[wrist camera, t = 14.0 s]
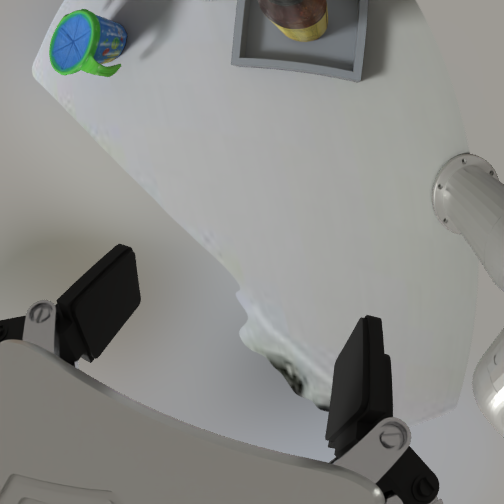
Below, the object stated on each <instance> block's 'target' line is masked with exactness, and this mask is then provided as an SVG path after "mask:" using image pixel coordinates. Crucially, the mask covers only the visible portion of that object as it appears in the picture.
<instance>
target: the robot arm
mask: <svg viewBox="0 0 504 504" xmlns="http://www.w3.org/2000/svg"><path fill="white" fill-rule="evenodd" d="M462 159H463V161H462ZM489 172H490V173H489ZM439 184H440V185H439ZM438 185H439V186H438ZM432 202H433V208H434V211H435V213H436V216H437V217H438V219H439V221H440V222H441V223H442V225H443V226H444V227H446V228H447V229H448V230H450V231H451V232H453V233H456V234H462V235H463V237H464V238H465V240H466V241H467V242H468V244H469V245H470V247H471V248H472V250H473V251H474V253H475V254H476V256H477V257H478V259H479V260H480V262H481V263H482V265H483V266H484V268H485V270H486V271H487V273H488V274H489V276H490V277H491V279H492V280H493V282H494V283H495V285H497V287H498V288H500V289H501V290H502V291H504V184H502V183H501V182H500V181H499V180H498V176H497V174H496V172H495V170H494V169H493V167H492V166H491V165H490V164H489V163H488V162H487V161H486V160H484V159H483V158H481V157H479V156H476V155H472V154H462V155H459V156H456V157H454V158H452V159H450V160H449V161H448V162H447V163H446V164H445V165H444V166H443V167H442V168H441V170H440V171H439V173H438V175H437V177H436V179H435V182H434V185H433V191H432ZM140 301H141V297H140V290H139V283H138V275H137V267H136V260H135V253H134V252H133V250H132V248H131V247H128V246H125V245H122V244H118V245H117V246H115V247H114V248H113V249H112V250H111V251H109V252H108V253H107V254H106V255H105V256H104V257H103V258H102V259H100V260H99V261H98V262H97V263H96V264H95V265H94V266H92V267H91V268H90V269H89V270H88V271H87V272H86V273H85V274H84V275H83V276H82V277H81V278H80V279H78V280H77V281H76V282H75V283H74V284H73V285H72V286H71V287H70V288H69V289H68V290H67V291H66V292H65V293H64V294H63V295H62V296H61V297H60V298H59V299H58V300H57V304H56V305H54V303H52V302H51V301H48V300H41V301H38V302H36V303H34V304H33V305H31V306H30V308H29V309H28V310H27V314H26V316H21V317H16V318H11V319H6V320H1V321H0V504H443V502H442V499H439V500H438V498H437V494H438V491H439V481H438V478H437V477H436V475H435V474H434V473H433V472H432V471H431V470H430V469H429V467H428V466H427V465H426V464H425V463H424V462H423V461H422V460H421V458H420V457H419V456H418V455H417V454H416V453H415V452H414V451H413V450H412V448H411V447H410V446H409V445H410V442H411V432H410V430H409V427H408V426H407V425H406V423H405V422H403V421H402V420H401V419H398V418H395V417H393V396H392V373H391V360H390V356H389V355H387V354H384V343H383V331H382V321H381V318H377V317H373V316H369V315H366V316H365V318H360V319H359V321H358V323H357V325H356V327H355V328H354V330H353V332H352V334H351V336H350V337H349V339H348V341H347V343H346V344H345V346H344V348H343V349H342V351H341V353H340V355H339V356H338V358H337V360H336V362H335V366H334V375H333V385H332V393H331V401H330V409H329V416H328V423H327V430H326V436H325V438H326V440H329V444H328V447H330V448H335V456H336V457H335V458H334V459H333V460H331V461H330V462H329V463H327V462H322V461H317V460H313V459H309V458H305V457H299V456H295V455H290V454H286V453H282V452H278V451H274V450H270V449H266V448H262V447H258V446H255V445H251V444H248V443H244V442H241V441H237V440H234V439H231V438H228V437H225V436H221V435H218V434H215V433H213V432H210V431H207V430H204V429H201V428H198V427H196V426H193V425H191V424H188V423H185V422H183V421H180V420H178V419H175V418H173V417H171V416H168V415H166V414H163V413H161V412H159V411H157V410H155V409H152V408H150V407H148V406H146V405H144V404H141V403H140V402H137V401H135V400H133V399H131V398H129V397H127V396H125V395H123V394H121V393H120V392H118V391H115V390H114V389H112V388H110V387H108V386H106V385H105V384H103V383H101V382H99V381H98V380H96V379H94V378H92V377H91V376H89V375H87V374H85V373H84V372H82V371H81V370H79V364H78V360H79V358H80V357H82V358H83V359H85V360H86V361H88V362H90V363H91V362H92V361H93V360H94V358H98V357H99V356H100V355H101V353H102V352H103V350H104V349H105V348H106V347H107V345H108V344H109V343H110V342H111V340H112V339H113V338H114V336H115V335H116V334H117V332H118V331H119V330H120V329H121V327H122V326H123V325H124V323H125V322H126V321H127V320H128V319H129V317H130V316H131V315H132V314H133V312H134V311H135V310H136V308H137V307H138V306H139V304H140ZM472 386H473V393H474V397H475V400H476V402H477V404H478V407H479V408H480V410H481V412H482V413H483V415H484V416H485V417H486V419H487V420H488V421H489V422H490V424H491V425H492V426H493V427H494V428H495V429H496V430H497V431H498V432H499V433H500V435H501V436H502V437H503V438H504V328H503V330H502V331H501V332H500V334H499V335H498V336H497V338H496V339H495V341H494V342H493V343H492V344H491V346H490V347H489V348H488V350H487V351H486V352H485V354H484V355H483V356H482V358H481V359H480V361H479V362H478V364H477V366H476V369H475V371H474V374H473V381H472Z"/></svg>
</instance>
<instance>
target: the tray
mask: <svg viewBox="0 0 504 504" xmlns="http://www.w3.org/2000/svg"><path fill="white" fill-rule="evenodd" d="M326 1H327V11H328V26H327V29H326V31H325V32H324V34H323V35H322V36H321V37H319V38H318V39H317V40H314V41H308V42H300V41H296V40H293V39H291V38H289V37H287V36H286V35H285V34H284V33H282V31H281V30H280V29H279V28H278V27H277V26H276V25H275V24H274V23H273V22H271V21H270V20H269V19H268V18H267V17H266V16H265V15H264V13H263V12H262V10H261V9H260V6H259V3H258V0H237V8H236V18H235V27H234V37H233V47H232V58H231V65H234V66H238V67H255V68H268V69H279V70H288V71H296V72H304V73H310V74H317V75H323V76H329V77H334V78H339V79H344V80H349V81H354V82H360V81H361V74H362V66H363V57H364V48H365V38H366V26H367V13H368V0H326Z"/></svg>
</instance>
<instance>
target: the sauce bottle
mask: <svg viewBox="0 0 504 504" xmlns="http://www.w3.org/2000/svg"><path fill="white" fill-rule="evenodd" d="M258 3H259V6H260V9H261V10H262V12H263V13H264V15H265V16H266V17H267V18H268V19H269V20H270V21H271V22H273V23H274V24H275V25H276V26H277V27H278V28H279V29H280V30H281V31H282V33H284V34H285V35H286V36H287V37H289V38H291V39H293V40H296V41H300V42H308V41H314V40H317V39H318V38H319V37H321V36H322V35H323V34H324V32H325V31H326V29H327V26H328V11H327V1H326V0H258Z"/></svg>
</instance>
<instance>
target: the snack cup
mask: <svg viewBox="0 0 504 504" xmlns="http://www.w3.org/2000/svg"><path fill="white" fill-rule="evenodd" d="M126 38H127V33H126V32H125V29H124V28H123V27H122V26H121V25H120V24H119V23H116V22H113V21H111V20H108V19H105V18H103V17H100V16H97V15H95V14H94V13H92V12H90V11H88V10H86V9H81V10H77V11H74V12H72V13H70V14H67V15H65V16H64V17H63V18H62V20H61V21H60V23H59V24H58V26H57V28H56V30H55V32H54V34H53V36H52V39H51V43H50V51H49V55H50V61H51V64H52V67H53V68H54V69H55V71H57V72H58V73H60V74H61V75H67V74H73V73H76V72H78V71H80V70H82V71H85V72H87V73H91V74H94V75H99V76H105V77H110V76H112V75H113V74H115V73H116V72H117V70H118V69H119V68H120V67H121V64H118V65H114V66H110V67H105V66H103V65H101V64H105V63H108V62H111V61H113V60H114V59H116V58H117V57H119V56H120V54H121V52H122V50H123V49H124V46H125V44H126Z"/></svg>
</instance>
